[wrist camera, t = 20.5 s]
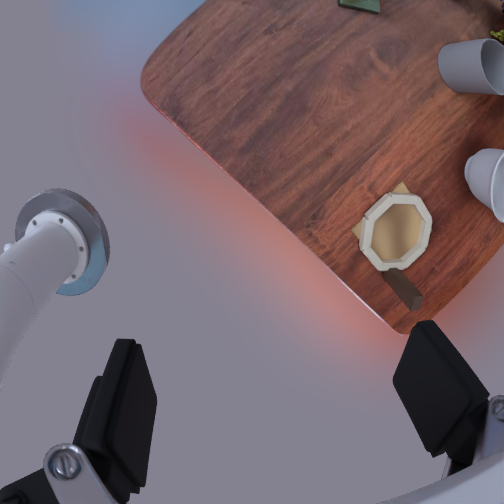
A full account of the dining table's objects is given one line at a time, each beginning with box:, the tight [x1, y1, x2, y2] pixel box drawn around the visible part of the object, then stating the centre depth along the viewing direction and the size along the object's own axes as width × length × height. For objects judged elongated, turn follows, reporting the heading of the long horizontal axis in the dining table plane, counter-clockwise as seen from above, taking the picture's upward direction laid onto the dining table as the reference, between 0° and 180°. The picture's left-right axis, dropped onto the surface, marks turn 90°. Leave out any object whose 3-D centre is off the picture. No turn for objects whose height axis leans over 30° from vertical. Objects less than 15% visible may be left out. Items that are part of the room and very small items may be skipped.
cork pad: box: [351, 182, 433, 259], centre depth 45 cm, size 11×11×1 cm
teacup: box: [465, 149, 504, 223], centre depth 37 cm, size 12×15×10 cm
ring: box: [359, 192, 432, 311], centre depth 40 cm, size 14×12×10 cm
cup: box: [438, 38, 504, 95], centre depth 29 cm, size 8×8×10 cm
